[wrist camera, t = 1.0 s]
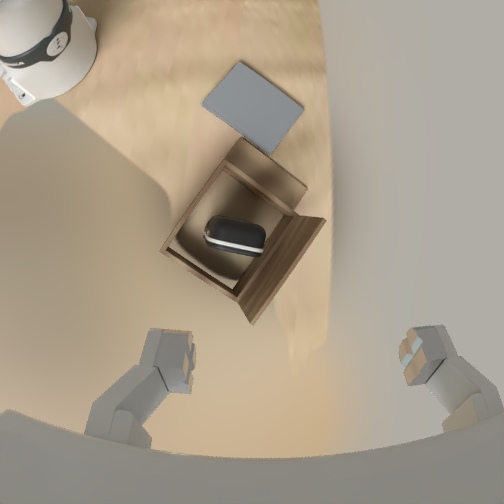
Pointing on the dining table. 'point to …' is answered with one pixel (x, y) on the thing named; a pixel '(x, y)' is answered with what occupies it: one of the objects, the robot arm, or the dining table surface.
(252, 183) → the wooden box
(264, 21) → the dining table surface
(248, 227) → the battery charger
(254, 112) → the mat
